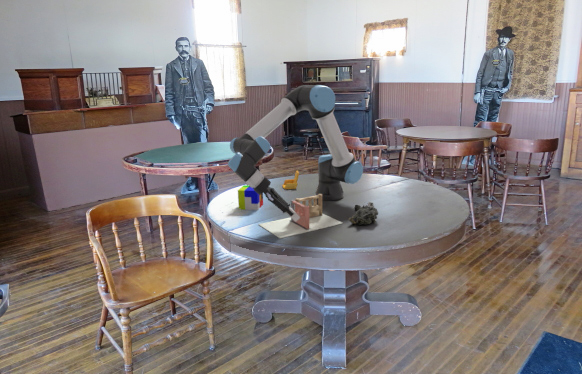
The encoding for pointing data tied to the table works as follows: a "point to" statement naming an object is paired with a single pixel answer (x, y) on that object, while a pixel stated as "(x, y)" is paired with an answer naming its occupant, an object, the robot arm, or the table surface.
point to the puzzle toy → (249, 198)
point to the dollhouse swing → (291, 182)
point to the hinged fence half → (301, 213)
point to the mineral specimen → (364, 214)
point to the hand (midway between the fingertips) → (297, 219)
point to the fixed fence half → (313, 210)
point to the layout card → (298, 225)
